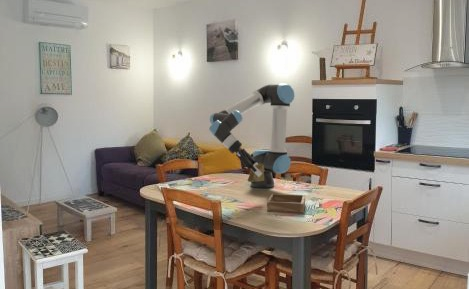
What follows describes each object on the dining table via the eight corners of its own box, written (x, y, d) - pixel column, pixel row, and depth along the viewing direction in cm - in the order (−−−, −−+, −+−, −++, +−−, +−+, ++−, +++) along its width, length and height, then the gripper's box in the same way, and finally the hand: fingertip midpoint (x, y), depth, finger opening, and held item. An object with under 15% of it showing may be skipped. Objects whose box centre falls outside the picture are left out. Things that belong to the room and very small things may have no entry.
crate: (271, 202, 232) (271, 193, 231) (305, 204, 228) (305, 195, 227) (267, 211, 214) (267, 201, 214) (303, 213, 211) (303, 203, 210)
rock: (248, 178, 226) (266, 176, 227) (245, 165, 230) (263, 162, 231) (247, 188, 235) (265, 185, 236) (244, 174, 239) (262, 171, 240)
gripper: (231, 146, 244) (259, 174, 243) (223, 151, 224) (253, 182, 223) (240, 137, 243) (269, 165, 241) (233, 141, 222) (263, 172, 221)
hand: (261, 173), depth 232 cm, fingers closed on rock, 8 cm apart
